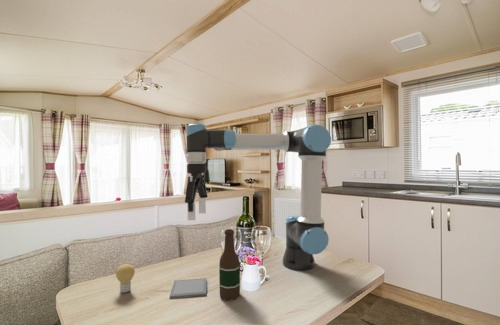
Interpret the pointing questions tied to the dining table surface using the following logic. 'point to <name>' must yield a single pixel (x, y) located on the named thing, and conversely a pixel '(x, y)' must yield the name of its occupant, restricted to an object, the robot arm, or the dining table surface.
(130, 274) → the light bulb
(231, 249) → the beer bottle
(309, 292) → the dining table surface
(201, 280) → the plate
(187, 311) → the dining table surface
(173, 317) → the dining table surface
